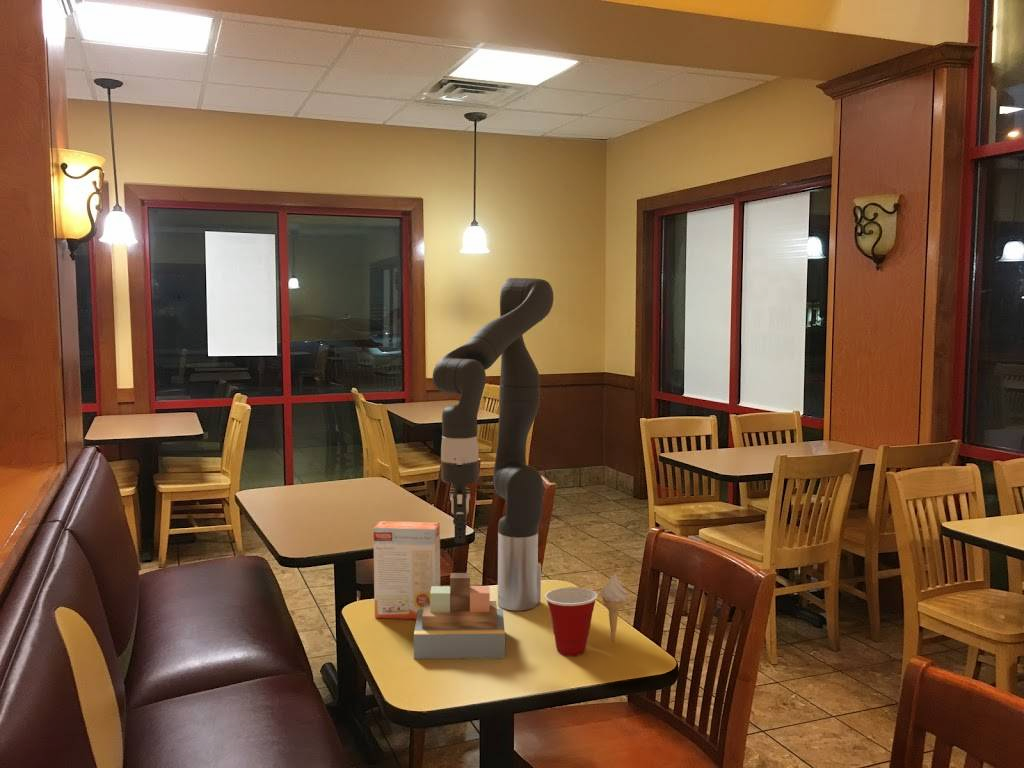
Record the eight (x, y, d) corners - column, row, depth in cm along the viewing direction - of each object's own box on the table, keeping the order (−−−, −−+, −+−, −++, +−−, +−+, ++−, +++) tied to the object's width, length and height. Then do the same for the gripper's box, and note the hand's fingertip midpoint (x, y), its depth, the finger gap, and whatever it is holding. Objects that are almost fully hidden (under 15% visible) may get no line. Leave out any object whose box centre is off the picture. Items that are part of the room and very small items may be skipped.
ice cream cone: (607, 648, 171) (609, 578, 169) (594, 638, 176) (596, 569, 174) (631, 644, 173) (633, 574, 171) (617, 634, 178) (619, 566, 176)
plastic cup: (567, 634, 178) (568, 579, 176) (607, 650, 170) (609, 593, 169) (532, 649, 170) (533, 592, 169) (572, 666, 163) (573, 607, 161)
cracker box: (441, 611, 190) (440, 521, 187) (436, 621, 184) (435, 529, 181) (380, 608, 191) (379, 519, 189) (373, 618, 185) (372, 526, 183)
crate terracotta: (489, 604, 174) (489, 586, 173) (489, 612, 170) (489, 593, 169) (470, 604, 173) (470, 586, 173) (469, 612, 169) (469, 593, 169)
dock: (502, 631, 179) (502, 608, 178) (504, 658, 166) (504, 633, 166) (418, 631, 178) (418, 609, 178) (413, 658, 165) (413, 634, 165)
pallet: (496, 613, 176) (496, 568, 175) (497, 628, 168) (497, 582, 167) (424, 613, 175) (424, 569, 174) (422, 629, 167) (422, 582, 166)
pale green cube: (450, 604, 173) (450, 586, 173) (450, 612, 169) (450, 593, 169) (431, 604, 173) (431, 586, 173) (430, 612, 169) (430, 593, 169)
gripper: (442, 450, 174) (443, 526, 176) (439, 465, 160) (440, 547, 162) (478, 450, 175) (478, 525, 177) (478, 465, 161) (479, 547, 162)
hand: (460, 536), depth 169 cm, fingers open, 8 cm apart
